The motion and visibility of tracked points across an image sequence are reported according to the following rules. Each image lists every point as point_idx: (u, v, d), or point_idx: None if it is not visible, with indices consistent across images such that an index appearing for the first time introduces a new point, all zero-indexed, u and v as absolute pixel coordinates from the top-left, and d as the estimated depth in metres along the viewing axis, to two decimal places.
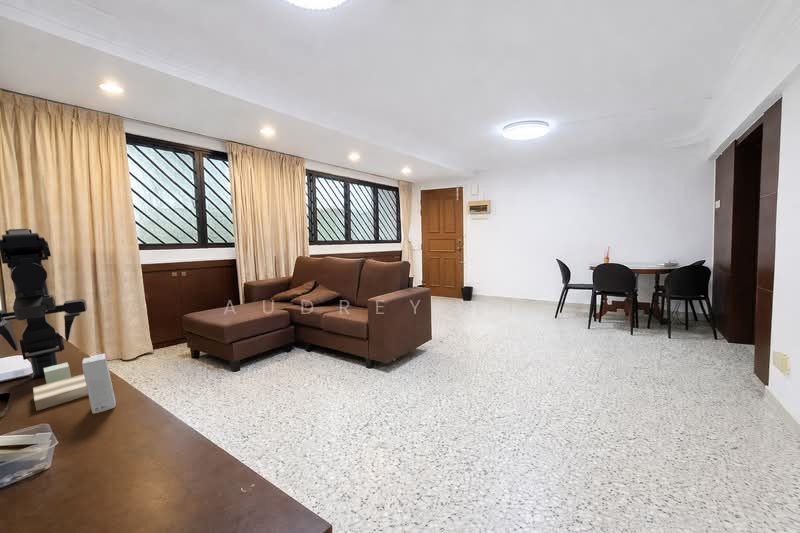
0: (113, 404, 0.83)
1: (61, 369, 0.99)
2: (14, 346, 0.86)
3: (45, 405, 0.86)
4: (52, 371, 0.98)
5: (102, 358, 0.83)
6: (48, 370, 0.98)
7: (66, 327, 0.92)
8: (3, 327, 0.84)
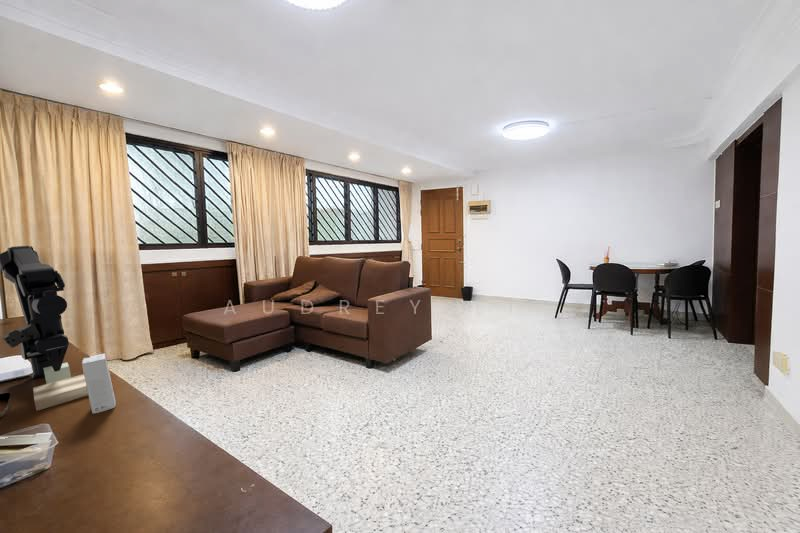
0: (113, 404, 0.83)
1: (61, 369, 0.99)
2: None
3: (45, 405, 0.86)
4: (52, 371, 0.98)
5: (102, 358, 0.83)
6: (48, 370, 0.98)
7: (48, 359, 0.96)
8: None
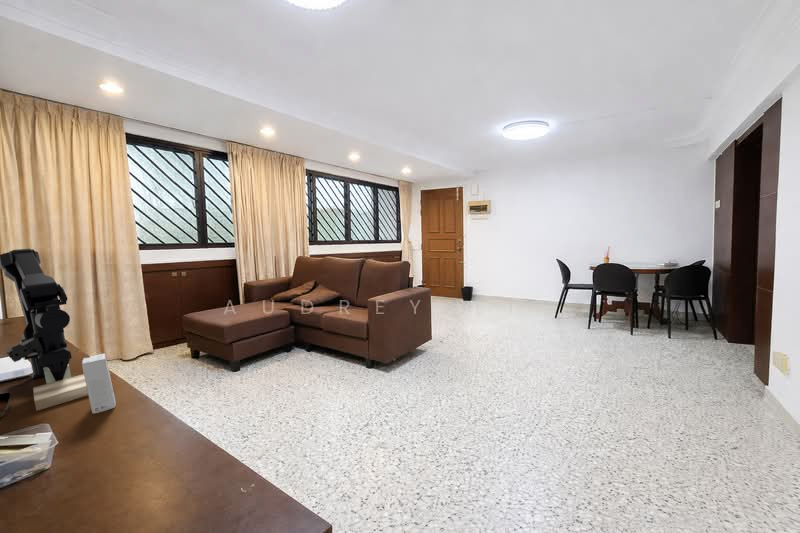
0: (113, 404, 0.83)
1: None
2: None
3: (45, 405, 0.86)
4: None
5: (102, 358, 0.83)
6: (48, 370, 0.98)
7: None
8: None
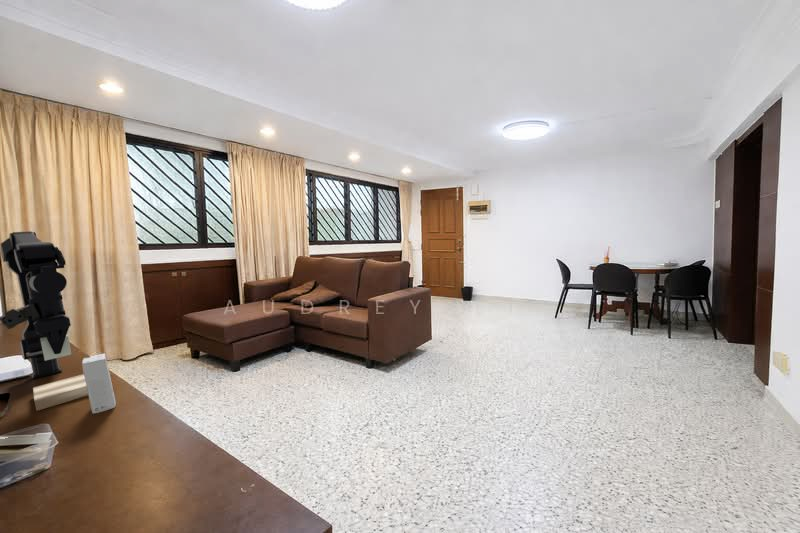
0: (113, 404, 0.83)
1: None
2: None
3: (45, 405, 0.86)
4: None
5: (102, 358, 0.83)
6: (45, 339, 0.90)
7: (48, 341, 0.89)
8: None
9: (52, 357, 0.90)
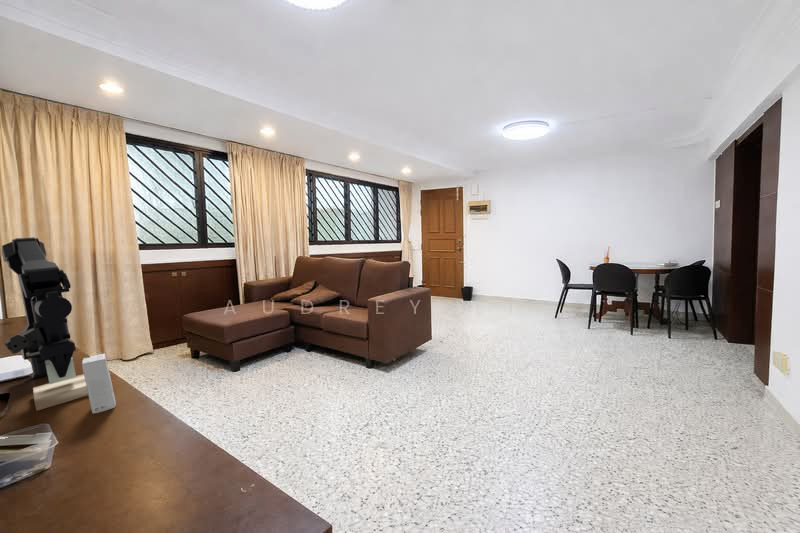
0: (113, 404, 0.83)
1: None
2: None
3: (45, 405, 0.86)
4: None
5: (102, 358, 0.83)
6: (50, 363, 0.90)
7: (53, 365, 0.89)
8: None
9: (57, 380, 0.90)
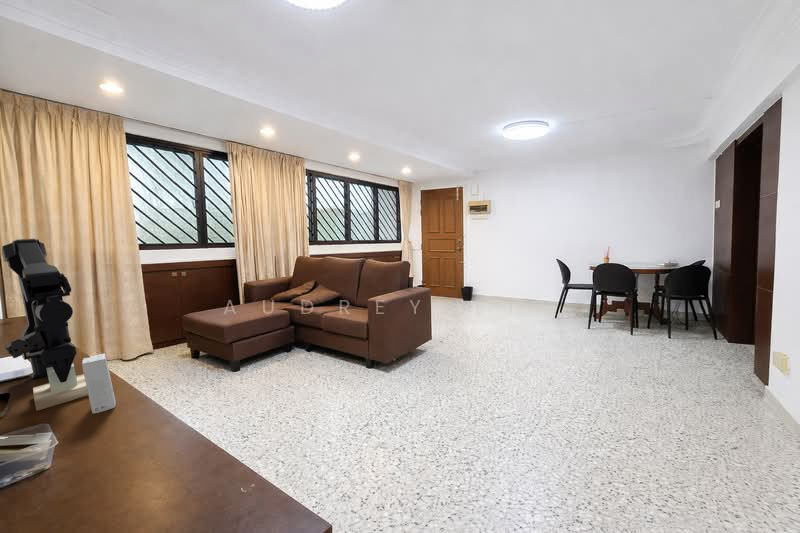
0: (113, 404, 0.83)
1: None
2: None
3: (45, 405, 0.86)
4: None
5: (102, 358, 0.83)
6: (51, 370, 0.90)
7: (54, 369, 0.88)
8: None
9: (58, 388, 0.90)
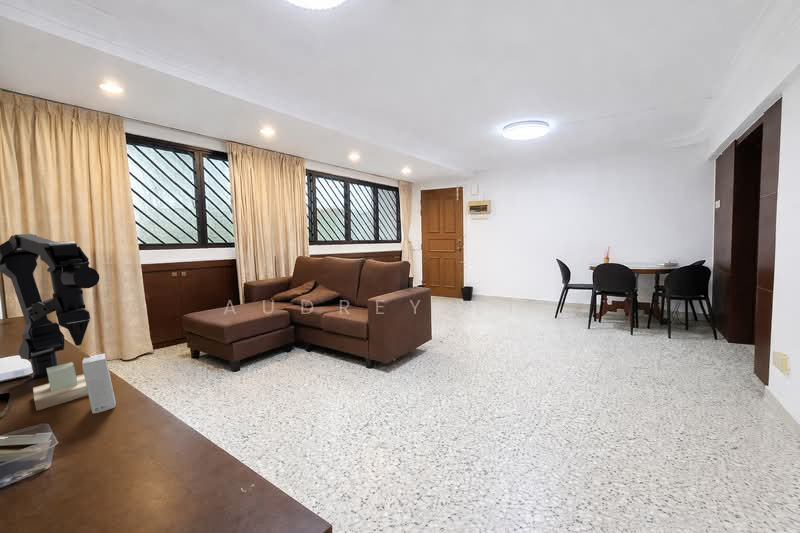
0: (113, 404, 0.83)
1: (66, 369, 0.91)
2: None
3: (45, 405, 0.86)
4: (56, 371, 0.90)
5: (102, 358, 0.83)
6: (51, 370, 0.90)
7: (70, 333, 0.95)
8: None
9: (58, 388, 0.90)
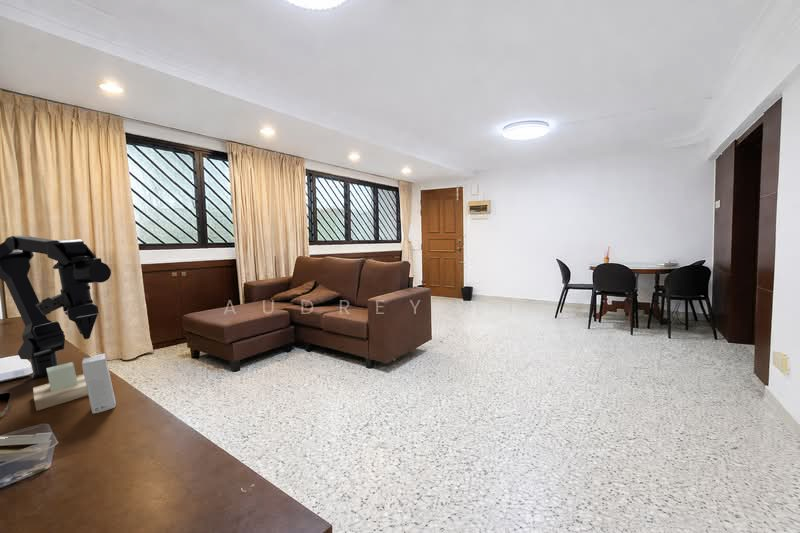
0: (113, 404, 0.83)
1: (66, 369, 0.91)
2: None
3: (45, 405, 0.86)
4: (56, 371, 0.90)
5: (102, 358, 0.83)
6: (51, 370, 0.90)
7: (78, 327, 0.99)
8: (66, 314, 1.05)
9: (58, 388, 0.90)
